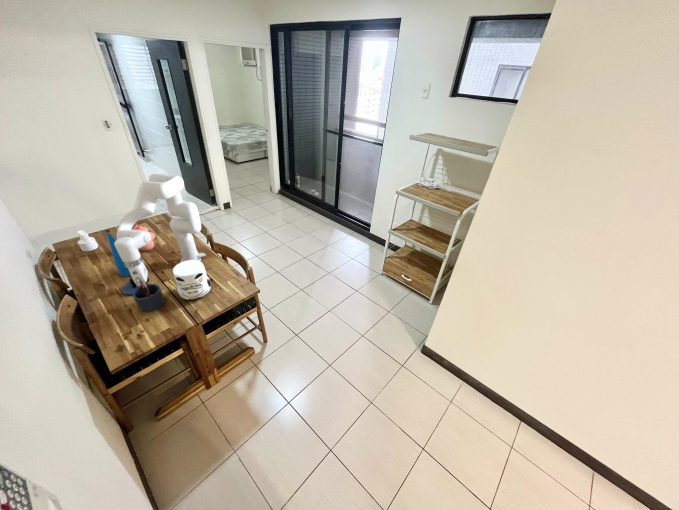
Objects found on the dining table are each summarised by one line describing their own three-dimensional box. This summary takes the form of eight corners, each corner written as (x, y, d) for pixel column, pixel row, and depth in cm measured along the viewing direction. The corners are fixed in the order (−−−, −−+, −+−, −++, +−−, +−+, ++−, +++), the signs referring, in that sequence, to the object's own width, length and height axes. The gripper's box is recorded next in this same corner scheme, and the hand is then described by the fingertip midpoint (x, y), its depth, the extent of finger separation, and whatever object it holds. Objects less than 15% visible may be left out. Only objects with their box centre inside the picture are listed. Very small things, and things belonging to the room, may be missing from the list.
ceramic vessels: (118, 237, 202) (107, 214, 192) (150, 228, 215) (142, 206, 205) (132, 257, 183) (121, 233, 172) (166, 246, 196) (158, 223, 185)
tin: (153, 294, 156) (147, 281, 151) (169, 299, 153) (164, 287, 148) (133, 308, 147) (127, 295, 141) (151, 314, 144) (145, 301, 139)
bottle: (126, 277, 166) (105, 234, 149) (117, 274, 168) (96, 231, 151) (137, 271, 172) (118, 228, 155) (128, 268, 174) (109, 225, 157)
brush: (152, 299, 152) (140, 272, 141) (158, 301, 151) (146, 274, 140) (145, 304, 148) (132, 277, 138) (151, 306, 147) (138, 279, 137)
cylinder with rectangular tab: (100, 247, 191) (92, 232, 184) (85, 252, 185) (76, 237, 178) (94, 243, 195) (86, 228, 188) (79, 248, 188) (70, 233, 182)
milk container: (191, 307, 149) (182, 281, 139) (173, 294, 157) (163, 269, 147) (218, 289, 162) (212, 265, 152) (200, 279, 169) (192, 255, 159)
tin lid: (137, 278, 166) (133, 270, 162) (154, 284, 163) (150, 275, 159) (116, 292, 156) (112, 283, 152) (134, 298, 153) (129, 289, 149)
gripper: (140, 269, 129) (152, 295, 139) (143, 250, 141) (154, 275, 151) (121, 273, 126) (135, 299, 136) (125, 253, 138) (138, 279, 148)
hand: (145, 287), depth 144 cm, fingers open, 9 cm apart
